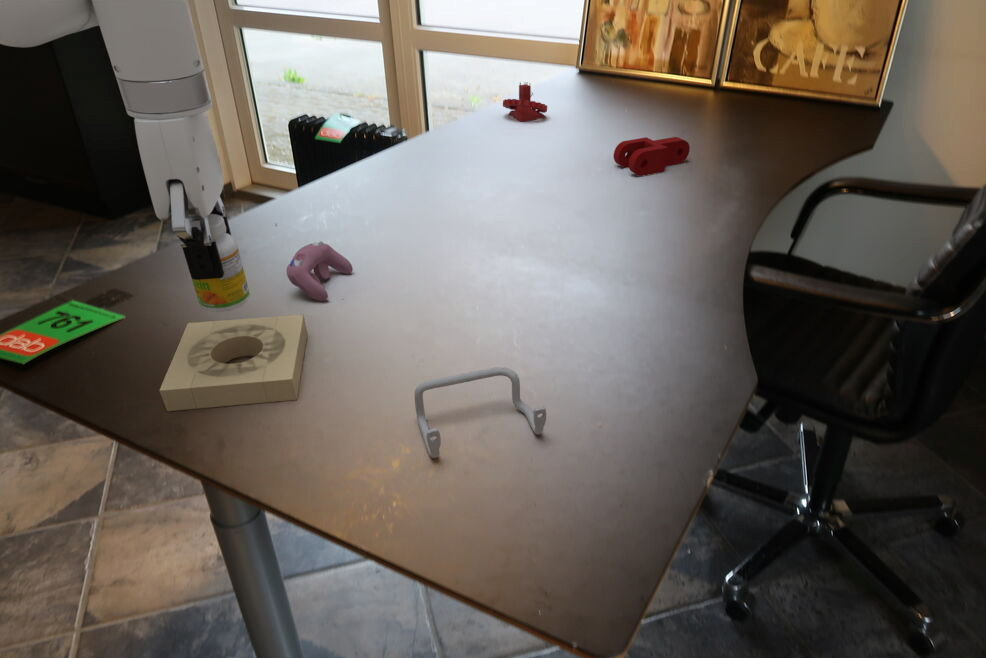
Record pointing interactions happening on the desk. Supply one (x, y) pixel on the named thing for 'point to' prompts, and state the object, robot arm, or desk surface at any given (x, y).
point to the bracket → (427, 434)
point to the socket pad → (258, 380)
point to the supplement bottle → (233, 283)
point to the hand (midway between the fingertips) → (213, 262)
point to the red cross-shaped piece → (525, 106)
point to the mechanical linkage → (651, 154)
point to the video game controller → (315, 268)
